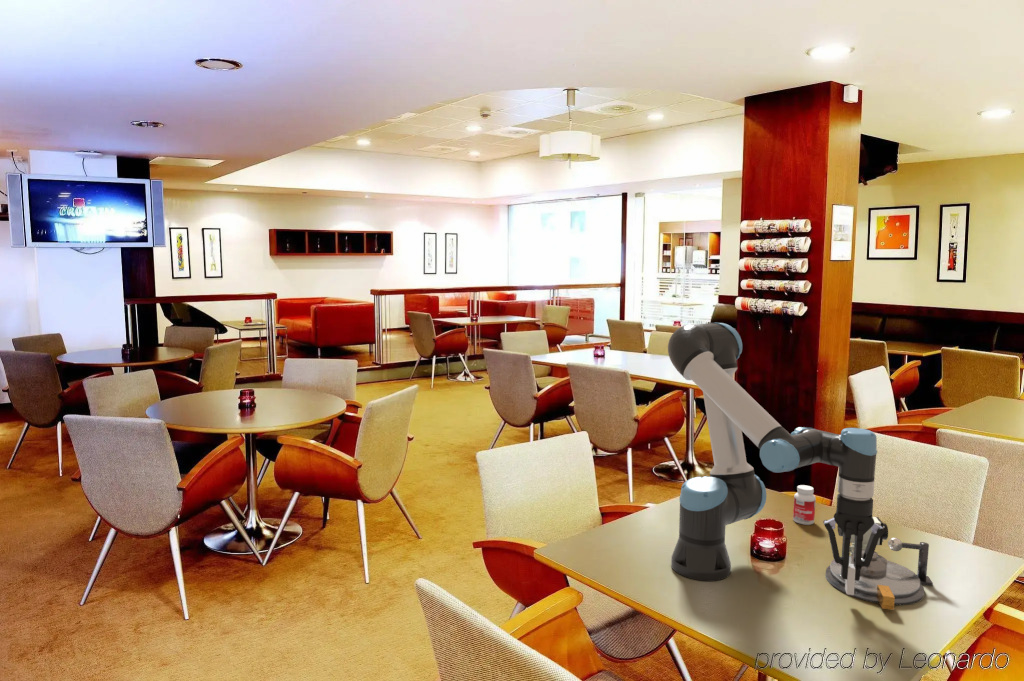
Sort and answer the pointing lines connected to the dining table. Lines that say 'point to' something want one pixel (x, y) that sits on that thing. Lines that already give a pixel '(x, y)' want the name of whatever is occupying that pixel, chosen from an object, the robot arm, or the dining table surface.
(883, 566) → the cover
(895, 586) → the turntable
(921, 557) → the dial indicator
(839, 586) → the turntable base
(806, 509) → the pill bottle
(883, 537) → the pneumatic valve
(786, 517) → the dining table surface
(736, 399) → the robot arm
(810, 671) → the dining table surface
